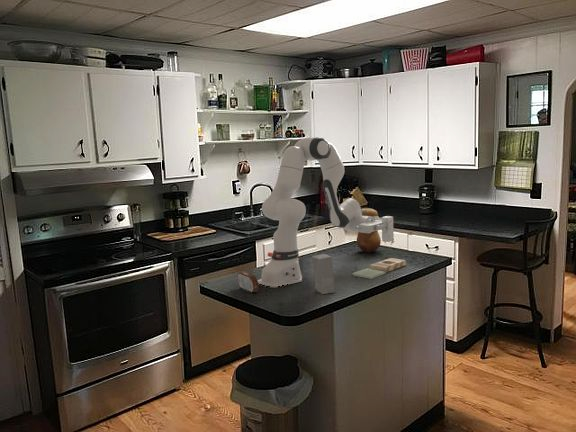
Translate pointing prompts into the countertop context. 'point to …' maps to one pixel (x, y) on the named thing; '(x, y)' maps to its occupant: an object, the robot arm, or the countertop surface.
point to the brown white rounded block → (248, 281)
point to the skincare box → (323, 273)
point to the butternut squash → (368, 235)
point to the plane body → (388, 264)
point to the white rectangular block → (387, 233)
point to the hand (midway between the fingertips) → (389, 227)
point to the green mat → (368, 273)
